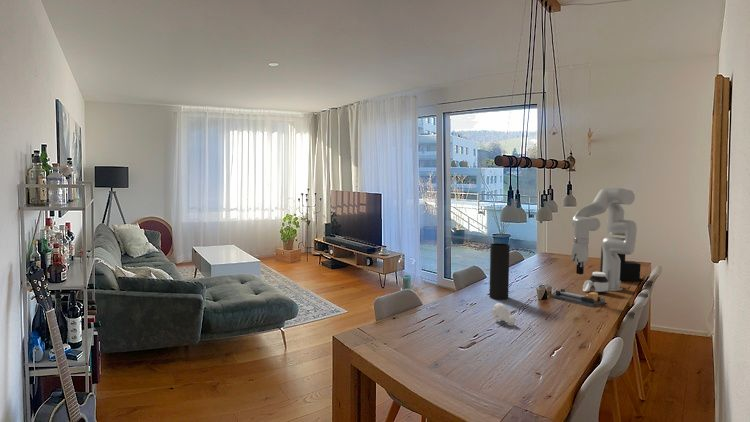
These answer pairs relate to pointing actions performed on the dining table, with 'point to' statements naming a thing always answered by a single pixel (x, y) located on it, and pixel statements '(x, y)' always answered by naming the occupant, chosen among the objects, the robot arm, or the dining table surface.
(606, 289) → the spread jar
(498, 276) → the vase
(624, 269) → the bookend
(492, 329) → the dining table surface
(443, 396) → the dining table surface
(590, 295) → the block
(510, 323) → the white rounded lump
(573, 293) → the strap
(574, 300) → the plate
